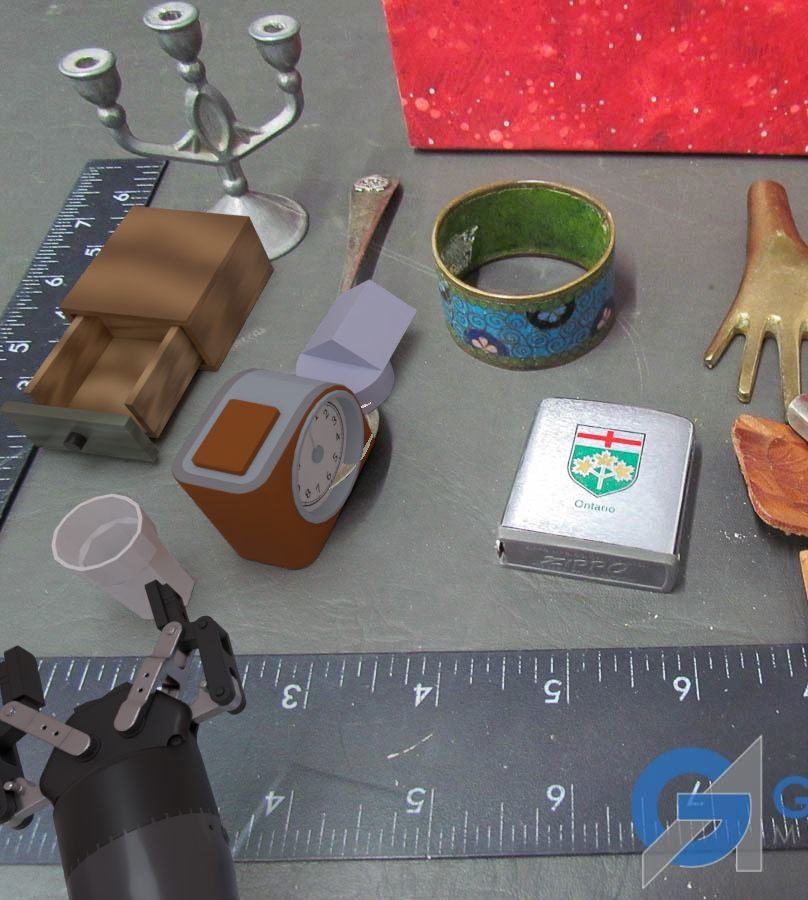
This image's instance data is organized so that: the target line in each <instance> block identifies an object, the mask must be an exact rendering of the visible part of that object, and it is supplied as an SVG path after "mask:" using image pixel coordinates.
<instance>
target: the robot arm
mask: <svg viewBox="0 0 808 900" xmlns="http://www.w3.org/2000/svg"><path fill="white" fill-rule="evenodd" d="M145 590H146V593H147V597H148V600H149V603H150V607H151V610H152V613H153V617H154V619H153V621H154V623H155V627H156V629H157V630H158V631H159V632H160V634H159V636H158V639H157V641H156V644H155V646H154V648H153V650H152V652H151V654H150V655H149V656H148V655H147V656H146V657H145V658H144V659H143V662H142V663H141V665H140V668H139V670H138V671H137V672H138V673H137V674H136V677H135V679H134V682H132V683H130V682H129V681H125V682H123V683H121V684H119V685H117V686H115V687H113V688H112V689H111V690H110V691H108V692H107V693H106V694H104V695H103V696H102V697H99V698H96V699H92V700H88V701H86V702H84V703H81V704H80V705H78V706H76V707H74V708H73V713H72V714H71V715H70V716H69V717H68V719H67V720H66V721H65V723H64V722H61V721H60V720H57V719H56V718H53V717H51V716H49V715H46V714H45V713H43V712H41V709H42V708H44V707H46V706H47V704H46V700H45V696H44V695H45V694H44V689H43V685H42V680H41V675H40V670H39V665H38V661H37V658H36V657H35V655H34V654H33V653H32V652H30V651H28V650H27V649H25V648H23V647H21V646H20V645H15V646H13V647H11V648H9V649H7V650H5V651H4V652H3V658H4V660H3V661H1V662H0V696H1V701H2V707H1V709H0V826H2V827H4V828H9V829H13V830H16V831H21V830H24V829H26V828H27V827H29V825H30V824H31V823H32V822H33V820H34V817H35V813H37V812H38V811H41V810H42V809H44V808H45V807H47V806H49V805H50V804H51V805H52V807H53V810H52V820H53V824H54V830H55V835H56V841H57V845H58V850H59V855H60V856H59V857H60V860H61V861H60V862H61V866H62V870H63V876H64V882H65V887H66V891H67V898H68V900H241V898H240V893H239V886H238V880H237V879H238V878H237V873H236V866H235V862H234V858H233V855H232V852H231V848H230V836H229V834H228V830H227V828H226V827H225V826H224V824H223V823H222V819H221V815H220V813H219V812H220V811H219V808H218V805H217V802H216V800H215V799H216V798H215V795H214V791H213V789H212V786H211V783H210V780H209V779H210V778H209V776H208V773H207V769H206V766H205V762H204V758H203V756H202V753H201V751H200V750H201V749H200V747H199V745H198V733H199V729H200V725H201V724H202V723H204V722H206V721H208V720H210V719H212V718H215V717H216V716H218V715H221V714H223V713H225V712H226V713H228V714H229V715H233V716H236V715H239V714H241V713H242V712H243V711H244V710H245V708H246V707H247V697H246V694H245V691H244V687H243V683H242V679H241V676H240V672H239V668H238V664H237V661H236V658H235V653H234V650H233V646H232V641H231V638H230V634H229V633H228V631H226V630H225V629H224V628H223V627H222V626H221V625H220V624H219V623H218V622H217V621H216V620H214V618H213V617H212V616H210V615H202V616H200V617H198V618H197V619H196V620H195V621H190V618H189V616H188V611H187V609H186V606H184V603H183V599H182V597H181V596H180V595H179V594H178V593H177V592H176V591H175V590H174V589H173V588H172V587H171V586H169V585H168V584H167V583H166V584H164V585H162V584H161V583H160V582H159V581H158V580H153V581H151V582H149V583H147V584H145ZM197 650H198V653H199V657H200V662H201V666H202V669H203V674H204V677H205V679H202V680H200V681H199V684H198V688H197V696H196V699H195V700H194V701H193V702H192V703H191V704H190V705H189V704H187V703H186V702H184V701H183V700H182V698H183V696H184V693H185V691H186V688H187V687H188V683H189V680H190V674H189V669H190V668H191V665H192V663H193V659H194V658H195V655H196V653H197ZM160 682H161V688H160V689H158V687H159V686H160V685H159V684H160ZM27 734H28V735H30V736H32V737H34V738H36V739H38V740H41V741H42V742H45V743H47V744H49V745H51V746H53V748H52V751H51V753H50V755H49V758H48V760H47V761H46V763H45V766H44V769H43V770H42V773H41V775H40V778H39V781H38V782H39V783H38V784H36V783H35V782H34V781H31V780H30V779H26V777H25V773H24V769H23V765H22V761H21V758H20V754H19V751H18V746H17V743H18V742H19V741H21V740H22V739H23V738H24V737H25V736H26V735H27Z"/></svg>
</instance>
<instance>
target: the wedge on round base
mask: <svg viewBox="0 0 808 900" xmlns="http://www.w3.org/2000/svg"><path fill="white" fill-rule="evenodd" d="M417 312H418V310H417V309H415V308H414V307H412V306H411V305H410V304H409V303H407V302H405V301H404V300H402V299H400V298H399V297H397V296H396V295H394V294H392V293H391V292H390V291H388V290H386V289H385V288H384V287H382V286H380V285H379V284H378V283H376V282H374V281H373V280H372V279H367V280H365V281H363V282H361V283H359V284H358V285H356V286H354V287H352V288H350V289H348V290H346V291H344V292H342V293H341V294H338V296H337V298H336V299H335V300H334V302H333V303H332V305H331V307H330V308H329V309H328V311H327V313H326V314H325V316H324V317H323V318H322V320H321V322H320V324H319V325H318V327H317V328H316V330H315V331H314V333H313V334H312V335H311V338H310V339H309V340H308V342H307V344H305V347H304V348H303V350H302V351H301V353H300V354H299V356H298V358H297V361H296V364H295V376H300V377H305V378H310V379H316V380H321V381H326V382H332V383H337V384H342V385H344V386H346V387H347V388H348V389H350V390H351V391H352V392H353V393H354V395H355V396H356V398H357V400H358V401H359V404H360V406H362V405H364V404H368V403H370V402H371V404H370V405H368V406H366V407H364V408H362V411H363V413H364V415H366V414H368V413H371V412H372V411H374V410H375V409H377V408H378V407H380V406H381V405H382V404H383V403H384V402H385V401H386V400H387V399H388V398H389V396H390V394H391V393H392V391H393V390H394V386H395V381H396V380H395V379H396V378H395V371H394V368H393V365H392V362H391V360H390V359H391V358H392V356H393V354H394V353H395V350H396V349H397V348H398V345H399V344H400V342H401V340H402V338H403V336H404V335H405V333H406V331H407V330H408V328H409V326H410V324H411V322H412V321H413V319H414V317H415V315H416V313H417Z"/></svg>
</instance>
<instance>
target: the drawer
mask: <svg viewBox="0 0 808 900" xmlns="http://www.w3.org/2000/svg"><path fill="white" fill-rule="evenodd" d="M202 360H203V358H202V356H201V354H200V353H199V351H198V350H197V348H196V347H195V345H194V344H193V342H192V340H191V339H190V337H189V336H188V334H187V333H186V331H185V329H184V328H183V326H181V325H171V324H162V323H153V322H143V321H134V320H125V319H115V318H106V317H96V316H87V315H77V316H76V318H75V319H74V320H73V322H72V323H70V325H69V326H68V327H67V328H66V330H65V331H64V333H63V335H62V336H61V337H60V339H58V340H57V343H56V344H55V346H54V347H53V349H52V350H51V351H50V353H49V354H48V356H47V357H46V358H45V359H44V361H43V362H42V363H41V365H40V367H39V368H38V369H37V370H36V372H35V373H34V375H33V376H32V377H31V379H30V380H29V382H28V384H27V385H26V386H25V388H24V389H23V390H22V393H23V394H24V395H25V396H26V397H27V398H28V399H29V401H31V402H32V403H30V402H29V403H28V402H19V401H11V400H5V402H4V404H3V405H1V408H0V413H1V414H2V415H3V416H4V417H5V418H6V419H7V420H8V421H9V422H10V423H12V425H13V426H14V427H15V428H17V429H18V431H19V432H20V433H22V434H23V435H24V437H26V438H27V439H28V440H29V441H30V442H31V443H32V444H33V445H34V446H35V447H36V448H43V449H51V450H59V451H66V452H67V451H68V452H74V453H83V454H91V455H98V456H107V457H115V458H121V459H122V458H123V459H130V460H137V461H144V462H145V461H147V462H153V463H155V461H156V459H157V458H158V456H159V454H160V453H161V452H160V450H159V448H157V446H156V445H155V444H154V442H152V440H151V439H150V438H156V439H158V438H159V437H160V435H161V433H162V432H163V430H164V429H165V427H166V426H167V425H166V424H168V421H169V419H170V418H171V416H172V414H173V413H174V411H175V410H176V408H177V406H178V403H179V402H180V400H181V399H182V397H183V395H184V393H185V392H186V390H187V388H188V387H189V384H190V382H191V381H192V379H193V377H194V376H195V374H196V372H197V371H198V370H199V369H198V367H199V365H200V363H201V362H202Z"/></svg>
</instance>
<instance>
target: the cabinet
mask: <svg viewBox="0 0 808 900" xmlns="http://www.w3.org/2000/svg"><path fill="white" fill-rule="evenodd" d="M255 227H256V226H254V223H253V220H252V219H251V217H250V216H249V215H241V214H240V215H239V214H228V213H218V212H206V211H197V210H196V211H194V210H185V209H183V210H182V209H174V208H162V207H161V208H160V207H150V206H139V205H133V206H131V208H130V210H129V211H128V212H127V213H126V214H125V216H124V217H123V219H122V220H121V221H120V223H119V224H118V226H117V227H116V228H115V229H114V231H113V233H112V234H111V235H110V236H109V238H108V239H107V241H106V242H105V243H104V244H103V246H102V247H101V248H100V250H99V252H98V253H97V254H96V255H95V257H94V258H93V259H92V261H91V262H90V263H89V265H88V267H86V269H85V270H84V272H83V273H82V274H81V276H80V277H79V278H78V280H77V281H76V283H75V284H74V285H73V287H71V289H70V291H69V292H68V294H67V295H66V296H65V298H64V299H63V300H62V302H61V303H60V304H59V305H58V309H59V310H60V312H61V313H62V314H63V316H64V317H65V318H66V320H68V322H69V323H70V324H71V323H72V322H73V320H74V319H75V318H76V316H77V315H87V316H96V317H106V318H115V319H125V320H134V321H143V322H153V323H162V324H171V325H181V326H183V328H184V329H185V331H186V333H187V334H188V336H189V337H190V339H191V340H192V342H193V344H194V345H195V347H196V348H197V350H198V351H199V353H200V354H201V356H202V358H203V360H202V362H201V363H200V365H199V367H198V369H197V370H200V371H201V370H202V371H212V372H218V371H219V370H220V367H221V366H222V365H223V362H224V360H225V359H226V357H227V356H228V353H229V351H230V350H231V348H232V346H233V344H234V342H235V340H236V338H237V337H238V335H239V333H240V331H241V330H242V328H243V326H244V324H245V322H246V321H247V318H248V317H249V315H250V313H251V312H252V309H254V306H255V304H256V302H257V300H258V299H259V298H260V295H261V294H262V291H263V290H264V288H265V286H266V285H267V282H268V281H269V279H270V277H271V275H272V274H273V271H274V270H275V268H274V266H273V264H272V262H271V260H270V258H269V256H268V253H267V251H266V248H265V247H264V245H263V242H262V241H261V238H260V236H259V233H258V232H257V229H256V228H255Z"/></svg>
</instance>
